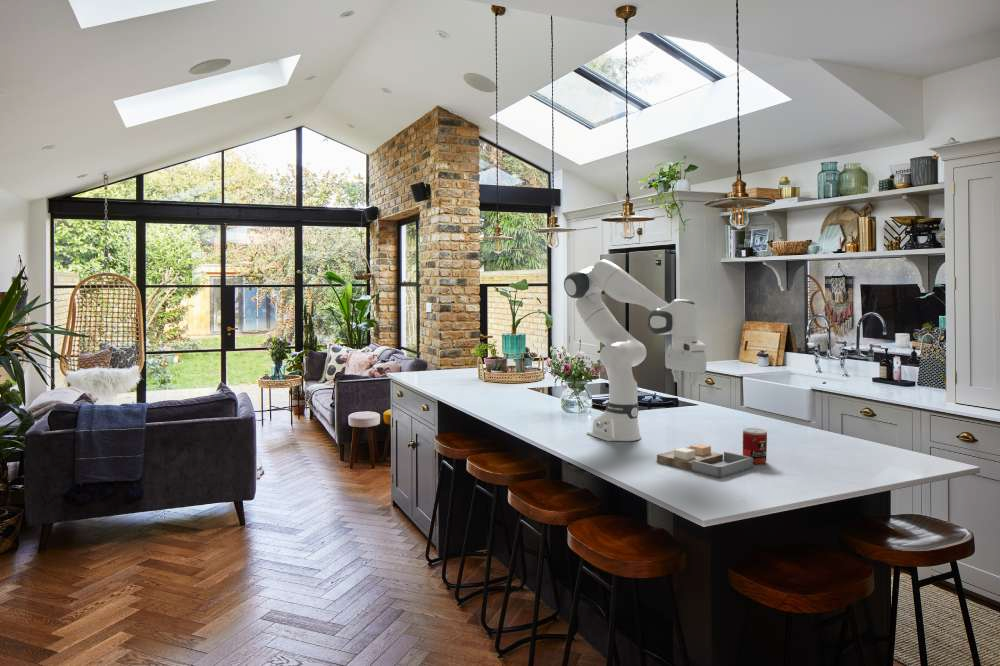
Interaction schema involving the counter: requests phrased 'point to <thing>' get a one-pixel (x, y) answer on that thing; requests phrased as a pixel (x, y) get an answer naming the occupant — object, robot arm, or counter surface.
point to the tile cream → (684, 453)
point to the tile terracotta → (701, 449)
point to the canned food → (755, 444)
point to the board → (687, 464)
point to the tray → (724, 465)
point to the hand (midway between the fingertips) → (684, 383)
